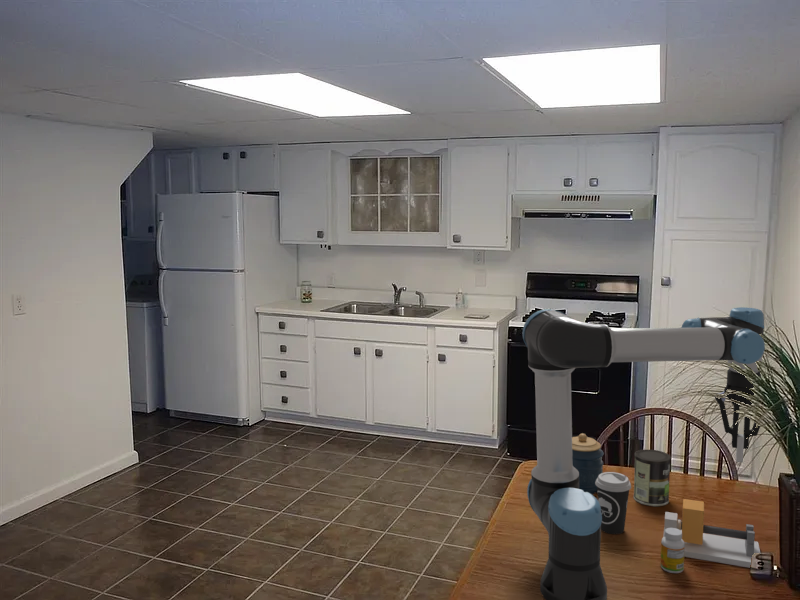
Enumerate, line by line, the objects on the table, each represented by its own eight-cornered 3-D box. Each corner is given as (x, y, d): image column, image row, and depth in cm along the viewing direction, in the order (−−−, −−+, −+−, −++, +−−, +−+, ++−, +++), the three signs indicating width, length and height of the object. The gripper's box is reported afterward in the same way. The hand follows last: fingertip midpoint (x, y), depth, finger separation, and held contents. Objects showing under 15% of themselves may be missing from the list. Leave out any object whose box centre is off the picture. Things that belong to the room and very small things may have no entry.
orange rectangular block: (702, 544, 177) (704, 511, 175) (681, 541, 179) (682, 508, 177) (702, 534, 182) (703, 501, 181) (681, 531, 184) (683, 498, 183)
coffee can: (671, 496, 212) (673, 452, 209) (665, 509, 203) (667, 463, 201) (637, 489, 217) (638, 446, 215) (629, 502, 208) (630, 457, 206)
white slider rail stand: (762, 569, 169) (763, 540, 168) (662, 552, 178) (663, 524, 177) (757, 547, 180) (759, 519, 179) (664, 532, 189) (665, 505, 188)
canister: (554, 480, 225) (555, 428, 222) (591, 477, 227) (592, 425, 225) (571, 497, 212) (572, 442, 210) (610, 493, 215) (611, 439, 212)
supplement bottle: (660, 560, 174) (661, 524, 173) (683, 564, 172) (685, 528, 171) (660, 571, 169) (661, 534, 168) (683, 575, 167) (685, 538, 166)
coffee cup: (632, 538, 186) (633, 485, 184) (595, 535, 188) (596, 483, 186) (627, 522, 195) (629, 472, 193) (592, 519, 197) (594, 469, 195)
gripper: (772, 368, 172) (767, 458, 175) (715, 364, 177) (711, 451, 180) (775, 375, 165) (769, 469, 168) (715, 371, 170) (711, 461, 174)
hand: (739, 460), depth 174 cm, fingers closed
